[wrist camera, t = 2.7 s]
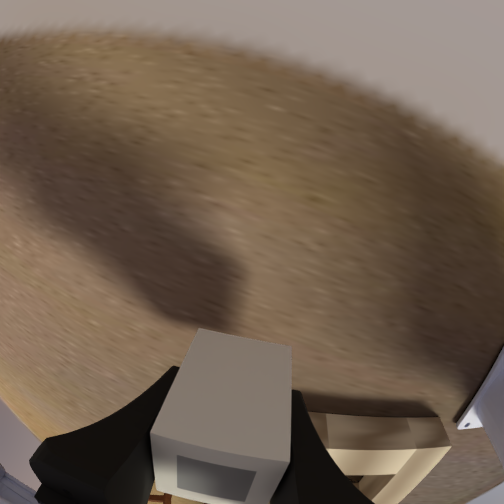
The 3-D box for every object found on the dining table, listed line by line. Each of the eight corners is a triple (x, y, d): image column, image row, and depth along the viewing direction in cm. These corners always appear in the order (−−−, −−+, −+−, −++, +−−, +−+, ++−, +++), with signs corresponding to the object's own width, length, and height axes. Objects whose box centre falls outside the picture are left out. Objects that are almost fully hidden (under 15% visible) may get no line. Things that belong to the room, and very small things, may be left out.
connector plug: (291, 345, 13) (290, 461, 7) (272, 408, 14) (262, 512, 9) (198, 327, 13) (149, 432, 8) (193, 392, 15) (156, 490, 9)
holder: (439, 417, 18) (451, 446, 15) (374, 496, 22) (378, 520, 19) (280, 407, 18) (278, 443, 15) (249, 490, 22) (245, 517, 19)
